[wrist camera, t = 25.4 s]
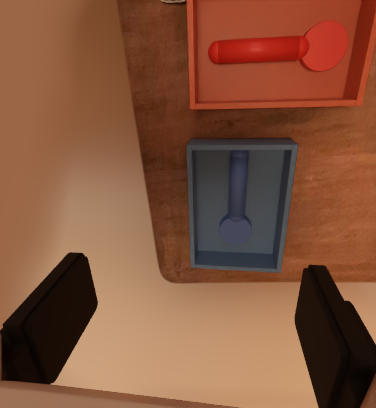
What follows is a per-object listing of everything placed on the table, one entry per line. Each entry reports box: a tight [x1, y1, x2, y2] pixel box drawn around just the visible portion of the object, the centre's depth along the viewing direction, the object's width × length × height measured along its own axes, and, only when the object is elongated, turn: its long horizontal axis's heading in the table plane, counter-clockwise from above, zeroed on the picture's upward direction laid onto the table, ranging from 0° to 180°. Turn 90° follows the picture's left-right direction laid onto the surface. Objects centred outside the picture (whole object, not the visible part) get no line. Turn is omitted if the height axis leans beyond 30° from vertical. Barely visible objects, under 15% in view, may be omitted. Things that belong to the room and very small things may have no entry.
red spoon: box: [208, 20, 348, 72], centre depth 27 cm, size 14×4×2 cm, turn 92°
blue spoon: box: [219, 150, 252, 245], centre depth 35 cm, size 14×4×2 cm, turn 1°
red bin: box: [187, 0, 376, 110], centre depth 27 cm, size 17×11×4 cm, turn 92°
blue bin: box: [186, 138, 298, 273], centre depth 35 cm, size 12×17×4 cm
